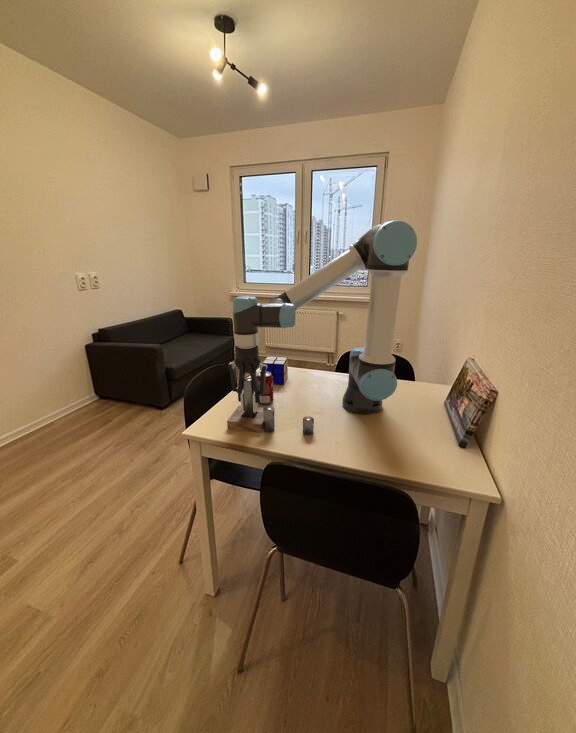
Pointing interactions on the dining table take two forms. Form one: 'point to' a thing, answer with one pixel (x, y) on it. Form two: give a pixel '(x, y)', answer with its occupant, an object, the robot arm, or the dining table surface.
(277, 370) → the puzzle cube
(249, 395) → the long pin
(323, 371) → the dining table surface
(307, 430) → the short pin
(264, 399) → the soda can
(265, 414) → the medium pin
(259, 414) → the hole block
